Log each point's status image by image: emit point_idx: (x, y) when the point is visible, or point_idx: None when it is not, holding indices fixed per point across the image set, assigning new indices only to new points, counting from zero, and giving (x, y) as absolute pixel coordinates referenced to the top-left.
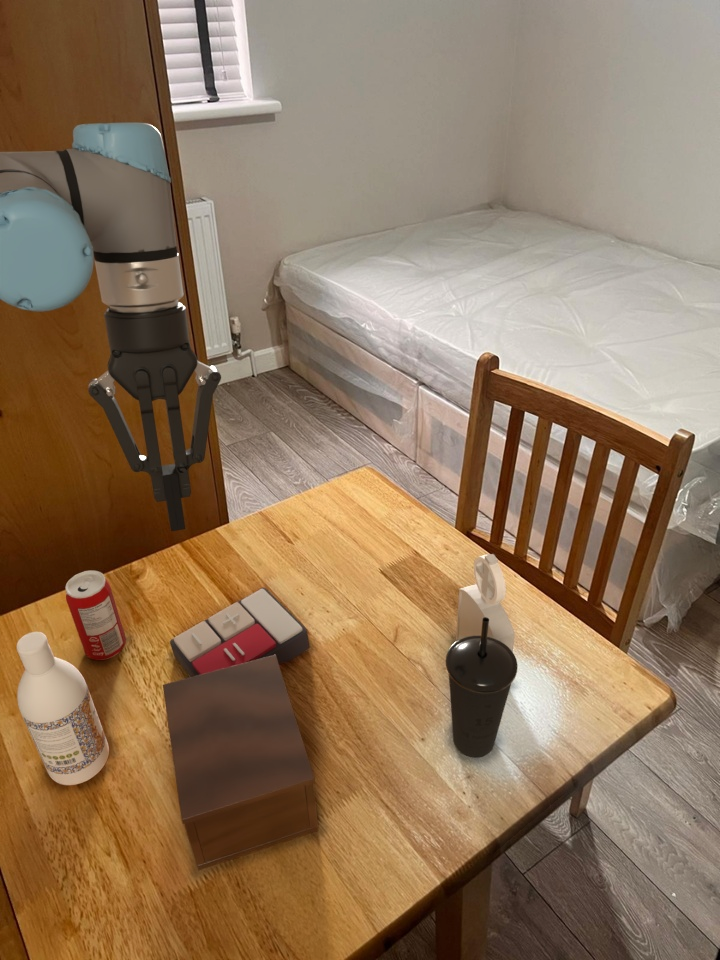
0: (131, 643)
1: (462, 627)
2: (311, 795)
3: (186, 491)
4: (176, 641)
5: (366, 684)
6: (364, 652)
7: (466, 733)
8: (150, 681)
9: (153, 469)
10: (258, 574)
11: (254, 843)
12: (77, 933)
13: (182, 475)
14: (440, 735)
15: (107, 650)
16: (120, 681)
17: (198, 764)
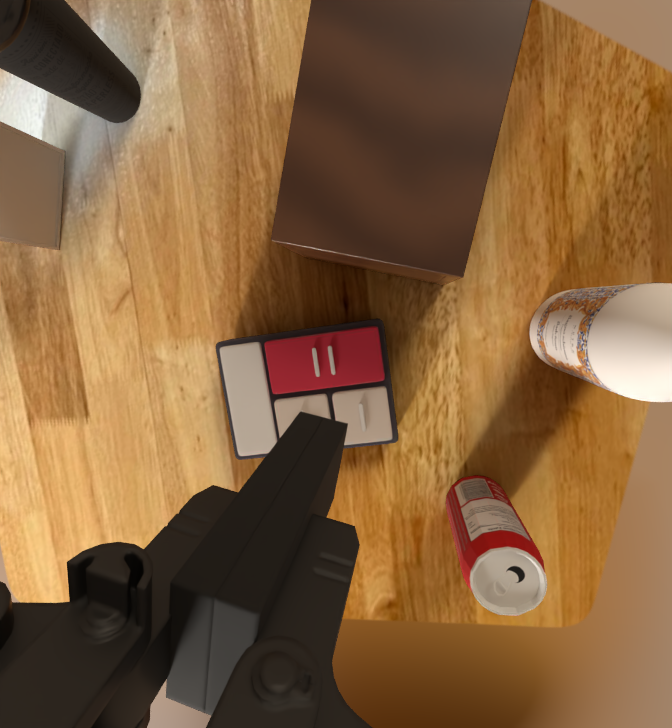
0: (441, 486)
1: (27, 231)
2: None
3: (209, 504)
4: (390, 430)
5: (192, 245)
6: (170, 295)
7: (105, 45)
8: (440, 406)
9: (293, 690)
10: None
11: None
12: (649, 86)
13: (163, 574)
14: (148, 123)
15: (481, 481)
16: (477, 429)
17: (471, 78)
